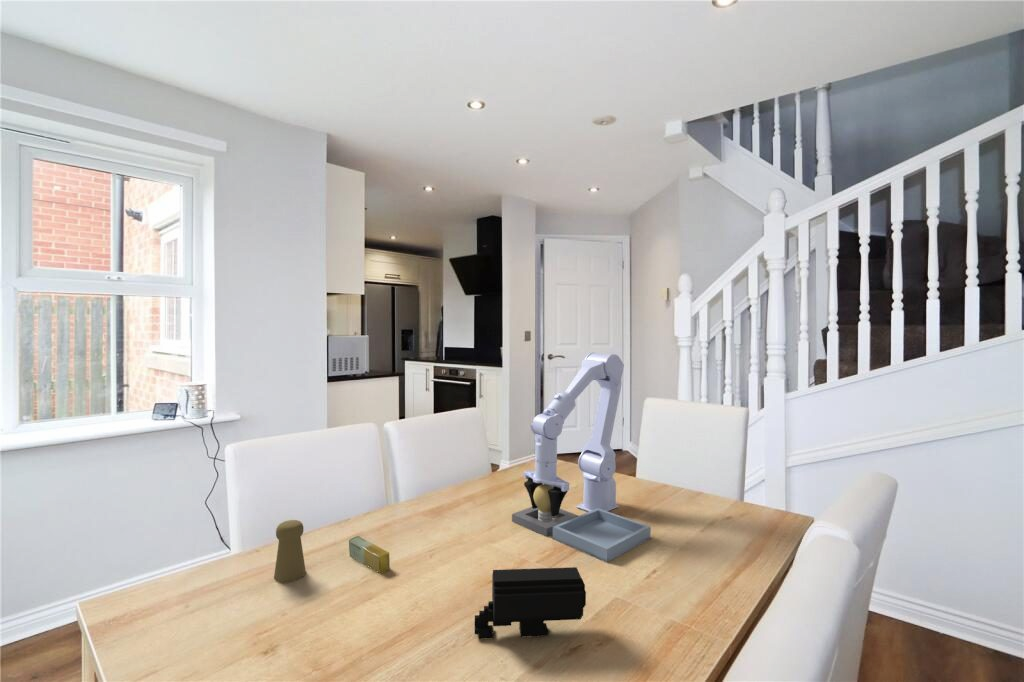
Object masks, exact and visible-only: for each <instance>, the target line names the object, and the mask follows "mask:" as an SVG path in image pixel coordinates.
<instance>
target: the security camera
mask: <svg viewBox="0 0 1024 682" xmlns="http://www.w3.org/2000/svg"><path fill="white" fill-rule="evenodd" d="M491 578H492V581H491V582H492V583H491V584H492V586H491V588H492V589H491V591H492V592H491V595H492V597H491V599H492V601H491V600H490V601H488V605H484V606H483V610H479V611H478V614H477V615H476V614H475V615H474V635H478V639H479V640H480V639H481V638H487V639H494V628H493V627H508V626H512V623H519V625H518V626H519V628H518V629H519V634H520V638H523V637H522V636H526V637H525V638H527V636H532V637H548V636H549V629H548V625H547V623H546V622H548V621H572V620H574V621H576V620H577V621H578V620H582V618H583V616H584V609H585V606H586V604H587V602H586V601H587V598H586V597H587V591H586V585H585V584H586V583H585V582H584V580H583V578H582V576H581V573H580V572H579V570H578V568H577V567H575V566H573V567H546V568H543V567H540V568H514V569H509V568H507V569H493V570H492V577H491ZM489 623H492V624H490V625H489ZM547 635H548V636H547ZM481 640H482V639H481Z"/></svg>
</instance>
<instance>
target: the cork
mask: <svg viewBox="0 0 1024 682" xmlns="http://www.w3.org/2000/svg"><path fill="white" fill-rule="evenodd" d="M303 533H304V525H303V522H302V521H300V520H297V519H289V520H285V521H283V522H280V523H279V524H278V525H277V527H276V530H275V536H276V538H277V540H278V543H277V552H276V553H277V554H276V561H275V568H274V575H273V579H275V580H276V581H275V580H274V581H275V582H277V581H279V582H278V583H283V582H284V583H290V582H291V581H292V582H294V580H295V581H297V579H298V580H300V579H302V578H303V577H304V576H305V575H306V574H307V572H306V570H307V569H306V565H305V563H306V562H305V557H304V551H303V544H302V535H303ZM305 573H306V574H305ZM303 575H304V576H303ZM302 576H303V577H302ZM301 577H302V578H301ZM299 578H300V579H299Z"/></svg>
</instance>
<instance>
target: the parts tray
mask: <svg viewBox="0 0 1024 682" xmlns="http://www.w3.org/2000/svg"><path fill="white" fill-rule="evenodd" d="M651 527H652V526H650V525H647V524H645V523H641V522H639V521H636V520H633V519H630V518H627V517H625V516H621V515H618V514H616V513H612V512H611V511H608V512H607V511H605V510H602V509H599V508H597V509H594V510H592V511H589V512H588V511H586V512H585V513H582V514H580V515H579V516H577V517H575V518H572V519H570V520H568V521H565V522H563V523H560V524H558V525H555V526H553V534H552V540H554V541H557V542H559V543H562V544H564V545H565V546H568V547H569V548H570V547H571V548H572V549H575V550H577V551H580V552H582V553H584V554H587V555H589V556H590V557H594V558H596V559H598V560H600V561H602V562H605V563H608V562H610V561H612V560H614V559H616V558H618V557H619V556H622V555H623V554H625V553H627V552H628V551H630V550H632V549H634V548H635V547H638V546H640V545H641V544H643V543H645V542H648V541H649V540H651V536H652V535H651V531H652V528H651Z"/></svg>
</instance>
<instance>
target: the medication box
mask: <svg viewBox="0 0 1024 682" xmlns="http://www.w3.org/2000/svg"><path fill="white" fill-rule="evenodd" d="M348 546H349V550H348V551H349V557H351V556H352V557H351V558H353V557H354V558H355V560H356V559H357V560H356V561H358V560H359V561H358V562H360V563H361V562H362V564H363V565H364V566H366V565H367V566H366V567H368V566H369V567H368V568H370V567H371V568H370V569H371V570H373V569H374V570H373V571H375V570H376V571H375V572H377V571H378V572H379V573H378V572H377V573H378V574H383V573H385V572H387V571H389V570H390V569H391V566H390V563H391V562H390V552H389V551H387V550H385V549H384V548H381V547H379V546H377V545H376V544H374V543H372V542H370V541H368V540H366V539H365V538H362V537H361V536H359V535H357V536H354V537H353V538H349V539H348ZM354 558H353V559H354ZM388 569H389V570H388ZM386 570H387V571H386ZM384 571H385V572H384ZM382 572H383V573H382Z"/></svg>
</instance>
